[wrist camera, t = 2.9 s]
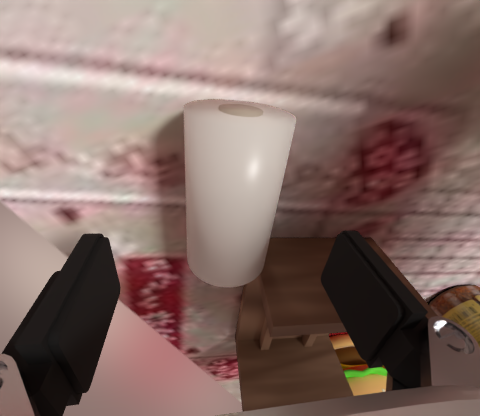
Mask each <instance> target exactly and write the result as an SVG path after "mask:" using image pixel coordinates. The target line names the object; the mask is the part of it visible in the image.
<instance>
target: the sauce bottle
mask: <svg viewBox="0 0 480 416" xmlns="http://www.w3.org/2000/svg"><path fill="white" fill-rule="evenodd" d="M429 306H430V307H431V308H432V310H433V311H434V312H435V313H436V314H437V315H438V316H439V317H444V318H447V319H450V320H452V321H454V322H456V323H458V324H459V325H460V326H462V327H463V328H465V329H466V330H467V331H468V332H469V333H470V334H471V335H472V336H473V337H474V339H475V340H476V341H477V343H478V345H479V347H480V287H478V286H476V285H466V286H457V287H454V288H451V289H449V290H447V291H445V292H443V293H441V294H440V295H438V296H437V297H436V298H435V299H433V300H432V301H431V302H430V304H429Z"/></svg>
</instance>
